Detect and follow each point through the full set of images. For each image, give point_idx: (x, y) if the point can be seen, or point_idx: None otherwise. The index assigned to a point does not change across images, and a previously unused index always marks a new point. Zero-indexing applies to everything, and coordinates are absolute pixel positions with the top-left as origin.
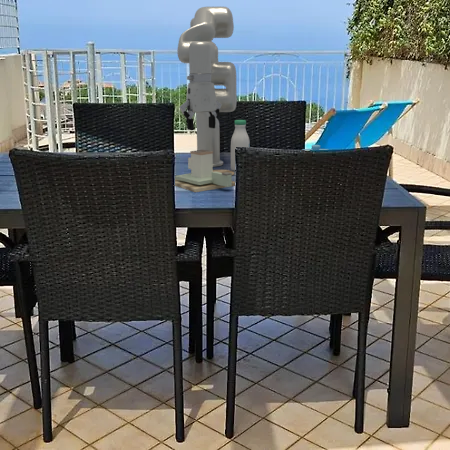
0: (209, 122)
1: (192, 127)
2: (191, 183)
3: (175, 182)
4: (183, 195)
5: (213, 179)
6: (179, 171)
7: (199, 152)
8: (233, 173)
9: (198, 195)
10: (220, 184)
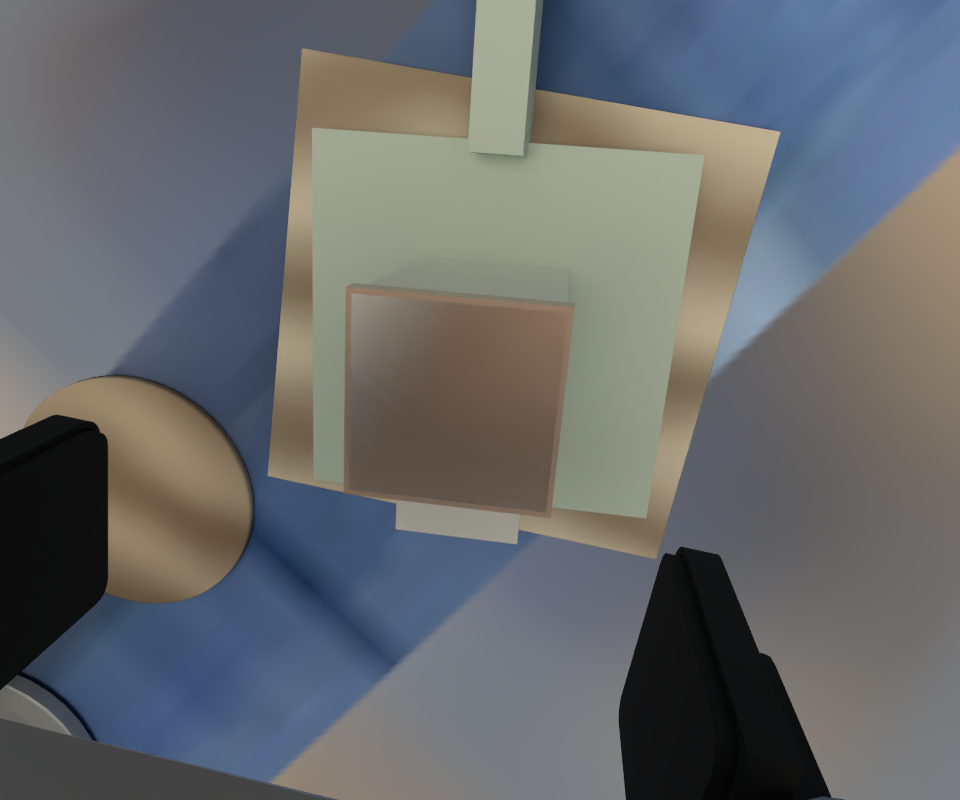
0: (27, 633)
1: (721, 579)
2: None
3: (683, 455)
4: (935, 118)
5: (530, 128)
6: (299, 751)
7: (535, 366)
8: (61, 389)
9: (852, 7)
10: (541, 18)
